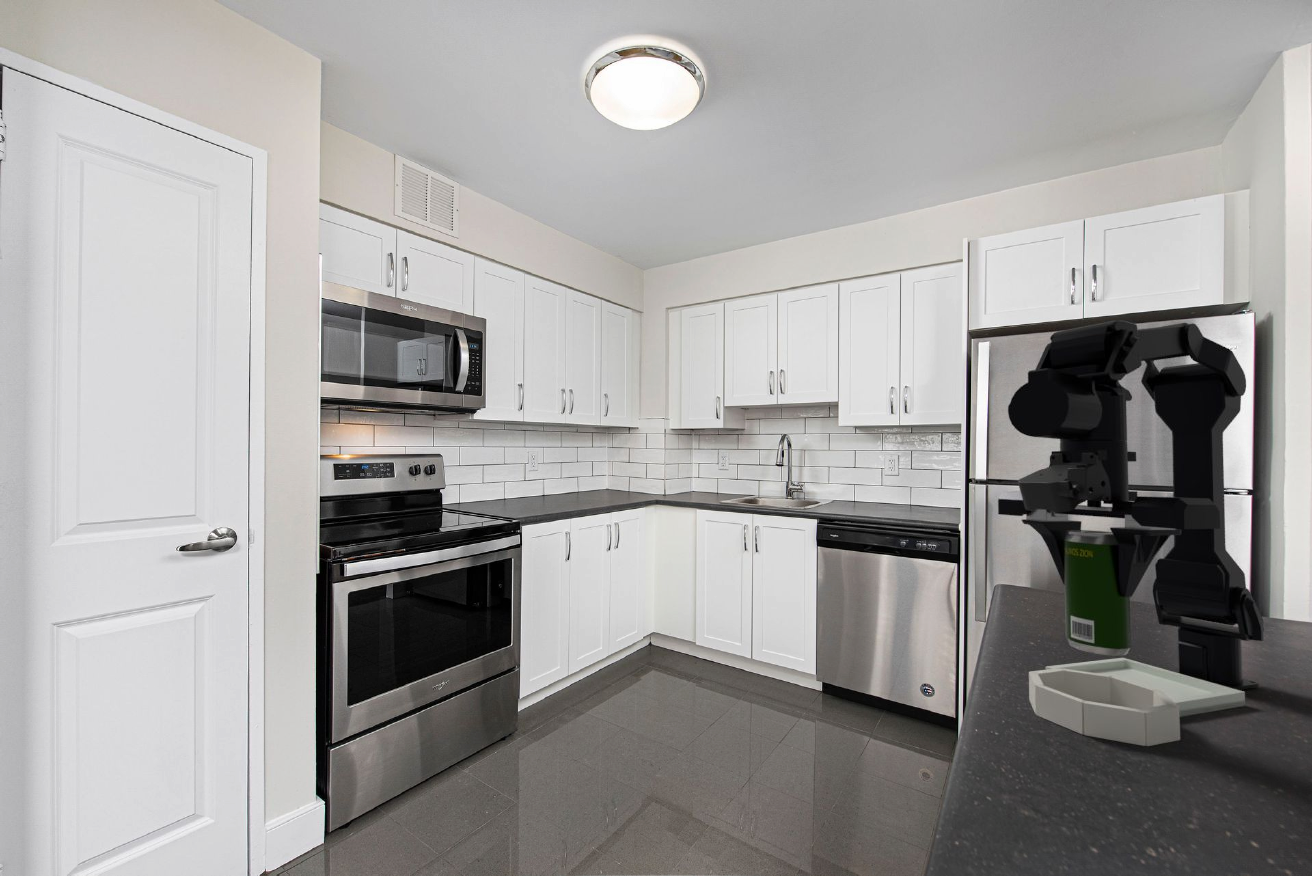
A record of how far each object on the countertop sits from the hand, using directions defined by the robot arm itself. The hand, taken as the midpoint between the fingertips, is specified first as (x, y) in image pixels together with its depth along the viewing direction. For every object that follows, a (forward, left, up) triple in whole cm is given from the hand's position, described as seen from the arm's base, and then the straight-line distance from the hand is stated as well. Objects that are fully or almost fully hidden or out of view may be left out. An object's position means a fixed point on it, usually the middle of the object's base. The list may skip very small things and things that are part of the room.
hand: (1096, 591), depth 60 cm
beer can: (0, 0, -6) cm, 6 cm away
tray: (-13, -4, -13) cm, 19 cm away
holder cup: (0, 0, -13) cm, 13 cm away
